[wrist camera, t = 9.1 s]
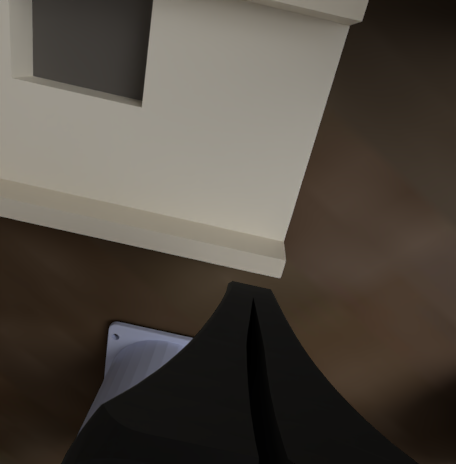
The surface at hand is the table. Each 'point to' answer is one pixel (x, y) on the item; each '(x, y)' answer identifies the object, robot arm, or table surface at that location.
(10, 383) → the table surface
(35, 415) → the table surface
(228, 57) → the trap lane
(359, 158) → the table surface
